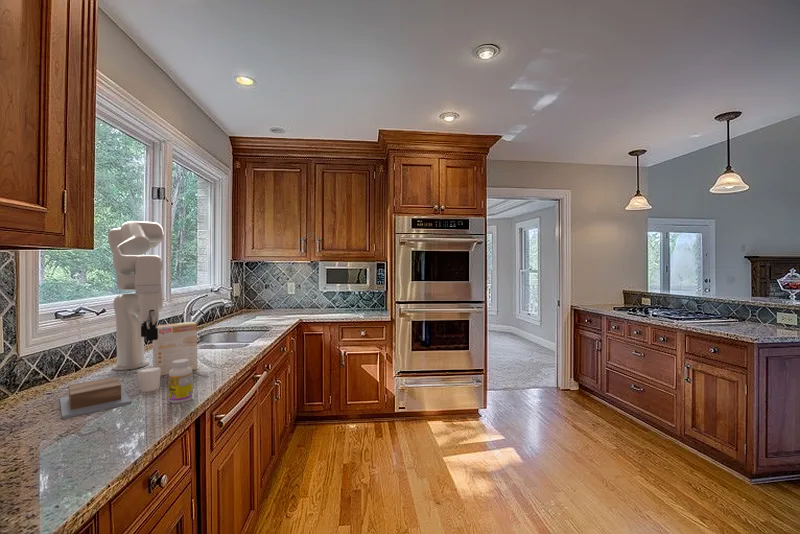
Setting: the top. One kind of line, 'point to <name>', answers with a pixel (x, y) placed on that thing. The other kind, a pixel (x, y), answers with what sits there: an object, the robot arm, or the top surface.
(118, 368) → the robot arm
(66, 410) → the slate gray board
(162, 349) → the coffeecake box
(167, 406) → the top surface
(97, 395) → the walnut plinth
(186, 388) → the supplement bottle
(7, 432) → the top surface
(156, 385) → the white tapered cup
